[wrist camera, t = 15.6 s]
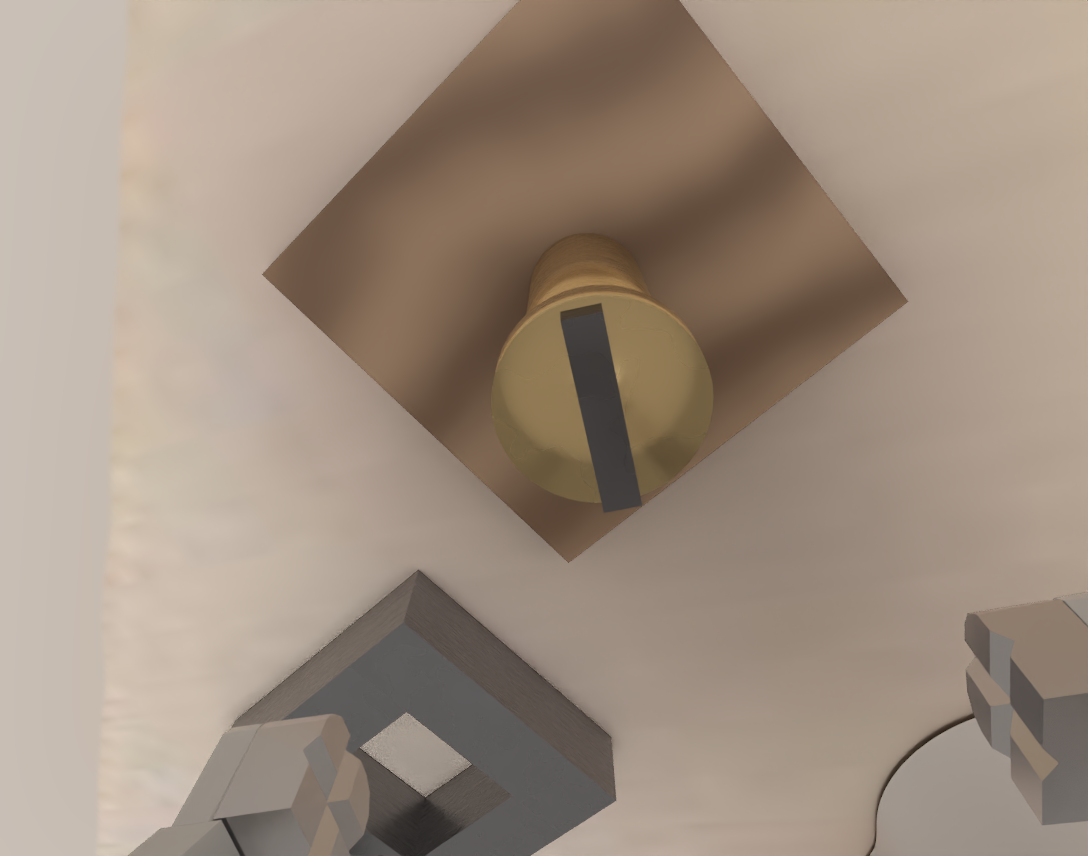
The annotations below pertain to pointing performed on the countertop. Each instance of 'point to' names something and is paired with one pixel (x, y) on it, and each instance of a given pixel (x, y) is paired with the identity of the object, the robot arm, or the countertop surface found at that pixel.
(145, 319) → the countertop surface
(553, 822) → the metal socket
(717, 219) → the walnut board
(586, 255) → the brass peg
